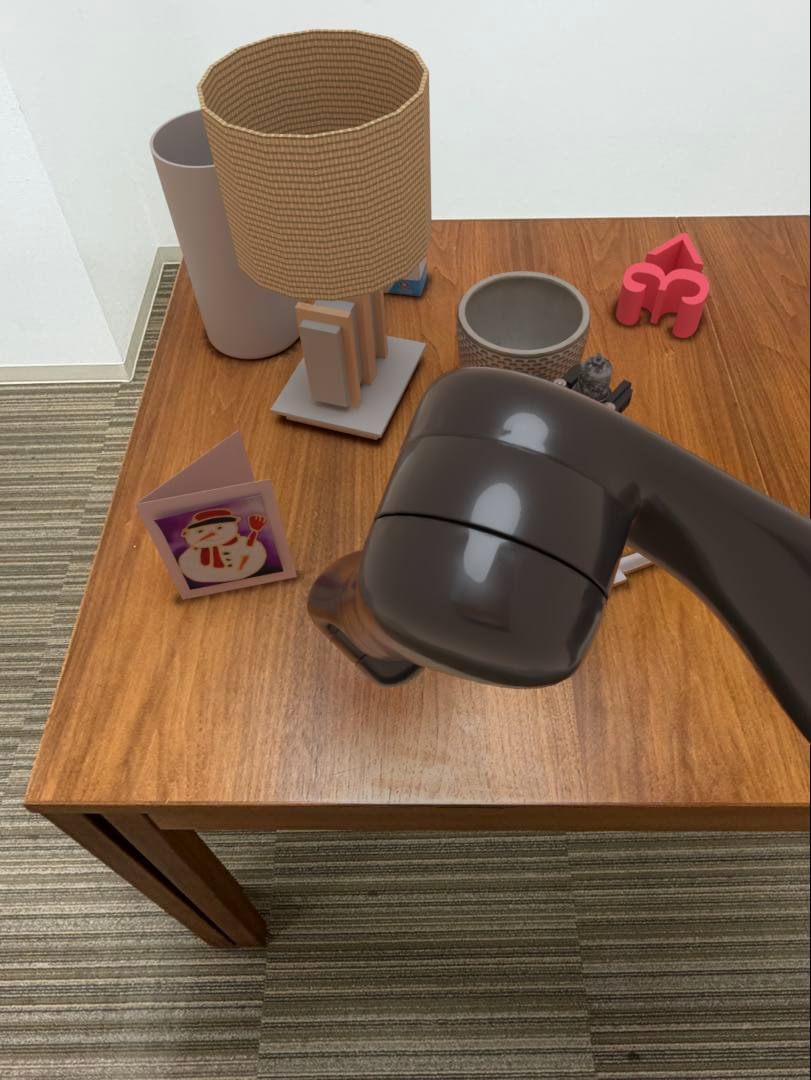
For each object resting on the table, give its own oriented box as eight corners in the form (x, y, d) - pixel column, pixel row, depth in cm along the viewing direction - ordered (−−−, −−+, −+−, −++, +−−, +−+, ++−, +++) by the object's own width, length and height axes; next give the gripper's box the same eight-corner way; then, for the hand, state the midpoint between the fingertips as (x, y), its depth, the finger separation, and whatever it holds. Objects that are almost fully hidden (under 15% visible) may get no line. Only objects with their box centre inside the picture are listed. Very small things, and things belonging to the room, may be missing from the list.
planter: (596, 387, 94) (614, 295, 83) (540, 463, 87) (552, 373, 77) (493, 347, 99) (498, 255, 88) (432, 416, 92) (430, 325, 82)
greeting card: (182, 606, 78) (134, 512, 66) (179, 547, 83) (133, 448, 70) (298, 583, 79) (271, 486, 67) (288, 526, 84) (262, 424, 72)
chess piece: (543, 431, 81) (557, 336, 72) (599, 422, 82) (620, 327, 72) (560, 473, 78) (577, 380, 68) (618, 464, 78) (643, 370, 69)
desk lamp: (310, 324, 103) (258, 19, 74) (455, 353, 98) (458, 40, 70) (242, 429, 92) (152, 120, 64) (402, 467, 88) (381, 152, 59)
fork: (705, 523, 81) (706, 519, 81) (723, 547, 80) (725, 542, 79) (537, 583, 78) (537, 580, 77) (552, 609, 76) (553, 606, 76)
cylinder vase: (319, 306, 105) (288, 112, 85) (284, 369, 98) (241, 174, 78) (232, 293, 108) (182, 101, 87) (192, 353, 101) (127, 160, 80)
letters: (639, 258, 108) (647, 225, 104) (716, 275, 105) (727, 241, 101) (611, 321, 101) (618, 288, 97) (692, 340, 98) (703, 307, 94)
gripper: (578, 499, 62) (685, 379, 70) (435, 420, 68) (548, 317, 75) (566, 555, 68) (665, 439, 76) (435, 478, 74) (540, 377, 81)
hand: (606, 379), depth 75 cm, fingers closed on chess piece, 3 cm apart
